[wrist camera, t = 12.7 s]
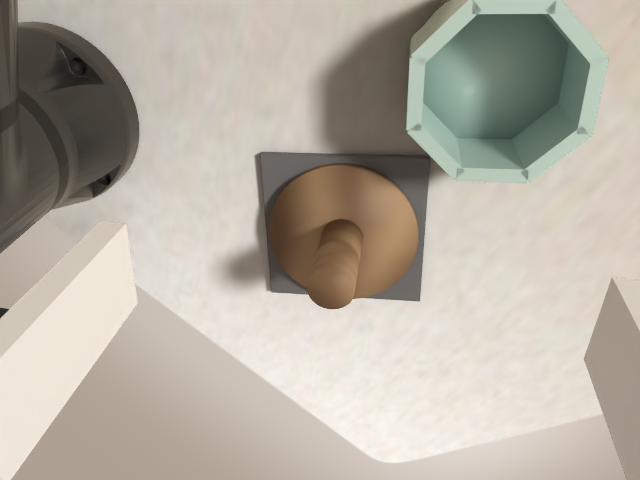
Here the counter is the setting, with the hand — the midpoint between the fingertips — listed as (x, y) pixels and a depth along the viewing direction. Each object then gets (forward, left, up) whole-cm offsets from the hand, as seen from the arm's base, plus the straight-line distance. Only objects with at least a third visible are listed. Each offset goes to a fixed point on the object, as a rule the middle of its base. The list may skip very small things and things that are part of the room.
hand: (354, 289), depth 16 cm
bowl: (+7, -2, -32) cm, 33 cm away
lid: (-4, -16, -32) cm, 36 cm away
